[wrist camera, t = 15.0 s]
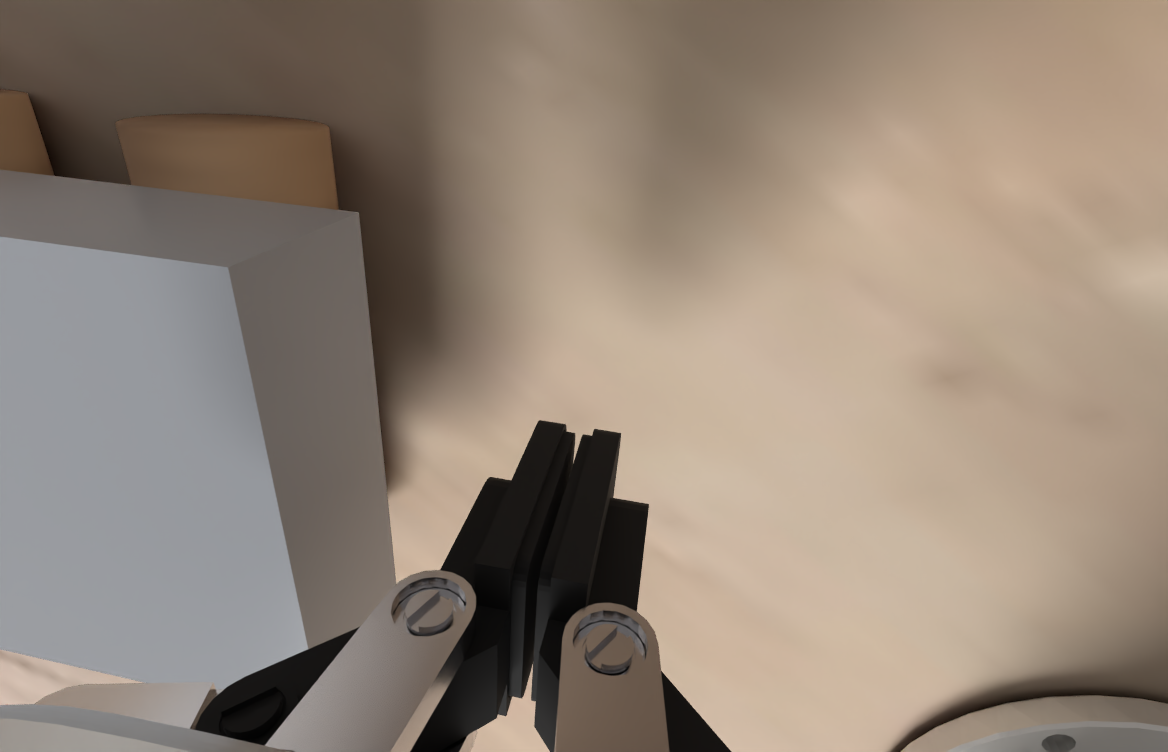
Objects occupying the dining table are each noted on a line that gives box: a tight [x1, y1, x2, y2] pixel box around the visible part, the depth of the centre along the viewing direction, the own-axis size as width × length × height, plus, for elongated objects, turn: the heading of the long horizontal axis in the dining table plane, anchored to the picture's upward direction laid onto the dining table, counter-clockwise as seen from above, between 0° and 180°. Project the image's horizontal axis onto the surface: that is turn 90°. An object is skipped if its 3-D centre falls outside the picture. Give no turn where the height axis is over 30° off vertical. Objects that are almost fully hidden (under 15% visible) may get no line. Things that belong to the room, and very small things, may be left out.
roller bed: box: [0, 89, 339, 210], centre depth 17 cm, size 18×12×4 cm, turn 86°
